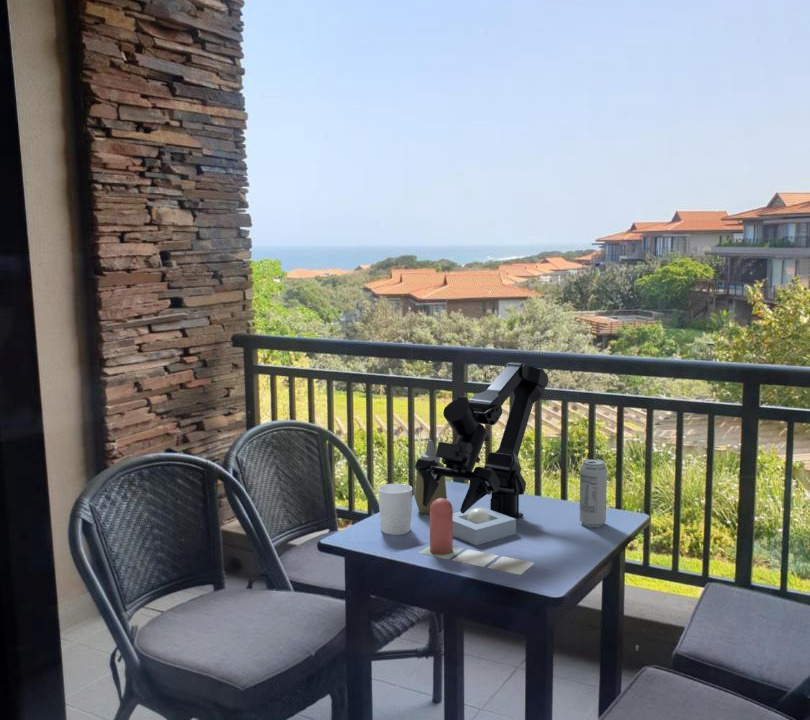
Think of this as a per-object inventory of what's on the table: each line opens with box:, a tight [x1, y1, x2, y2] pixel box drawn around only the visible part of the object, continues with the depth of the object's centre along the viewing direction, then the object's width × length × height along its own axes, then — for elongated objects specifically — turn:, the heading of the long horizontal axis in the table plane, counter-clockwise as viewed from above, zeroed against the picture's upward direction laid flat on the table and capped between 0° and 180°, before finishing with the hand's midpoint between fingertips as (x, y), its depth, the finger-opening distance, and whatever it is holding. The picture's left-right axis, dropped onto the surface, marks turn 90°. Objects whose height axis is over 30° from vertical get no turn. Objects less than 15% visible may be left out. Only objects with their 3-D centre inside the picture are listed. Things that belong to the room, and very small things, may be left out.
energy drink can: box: [579, 458, 608, 528], centre depth 186 cm, size 6×6×15 cm
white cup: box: [377, 483, 413, 536], centre depth 183 cm, size 8×8×10 cm
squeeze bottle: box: [413, 439, 448, 515], centre depth 197 cm, size 8×8×18 cm
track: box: [418, 545, 535, 576], centre depth 165 cm, size 25×8×1 cm, turn 58°
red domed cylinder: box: [429, 498, 454, 555], centre depth 168 cm, size 5×5×11 cm
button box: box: [453, 506, 517, 546], centre depth 180 cm, size 12×12×4 cm
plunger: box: [467, 508, 489, 524], centre depth 180 cm, size 5×5×6 cm
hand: (442, 508), depth 168 cm, fingers open, 9 cm apart
